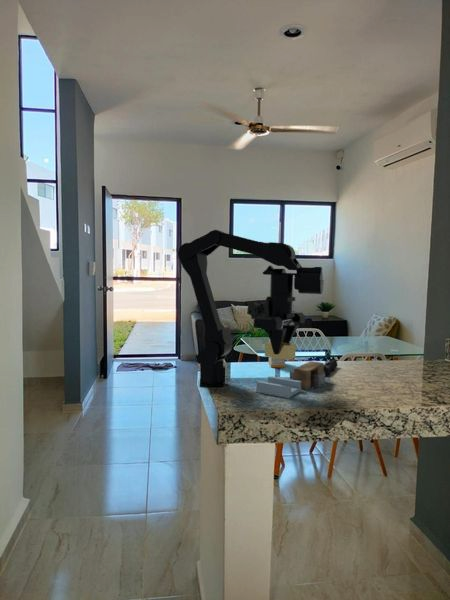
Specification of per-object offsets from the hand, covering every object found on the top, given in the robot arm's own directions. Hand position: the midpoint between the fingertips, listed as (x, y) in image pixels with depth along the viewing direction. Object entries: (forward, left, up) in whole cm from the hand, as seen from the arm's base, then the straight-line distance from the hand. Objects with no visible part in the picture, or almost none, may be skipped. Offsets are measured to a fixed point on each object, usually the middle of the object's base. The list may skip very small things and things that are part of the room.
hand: (279, 353), depth 109 cm
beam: (+10, +8, -10) cm, 16 cm away
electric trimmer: (+19, +23, -11) cm, 32 cm away
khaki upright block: (0, 0, -1) cm, 1 cm away
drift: (+9, +7, -10) cm, 15 cm away
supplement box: (+5, +31, -10) cm, 33 cm away
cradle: (0, 0, -10) cm, 10 cm away
